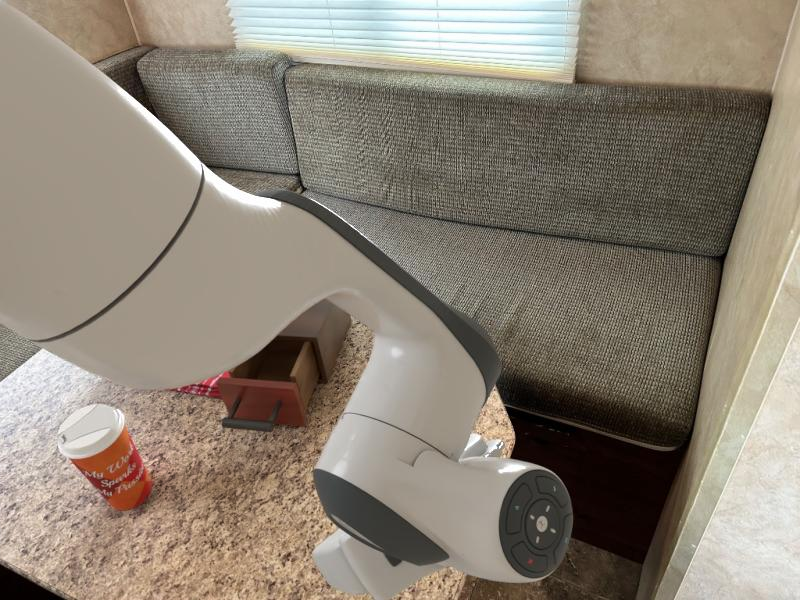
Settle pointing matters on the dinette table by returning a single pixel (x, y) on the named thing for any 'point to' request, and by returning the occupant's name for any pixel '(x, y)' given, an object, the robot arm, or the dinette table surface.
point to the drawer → (271, 387)
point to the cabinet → (321, 333)
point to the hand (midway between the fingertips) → (379, 500)
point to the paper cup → (105, 455)
